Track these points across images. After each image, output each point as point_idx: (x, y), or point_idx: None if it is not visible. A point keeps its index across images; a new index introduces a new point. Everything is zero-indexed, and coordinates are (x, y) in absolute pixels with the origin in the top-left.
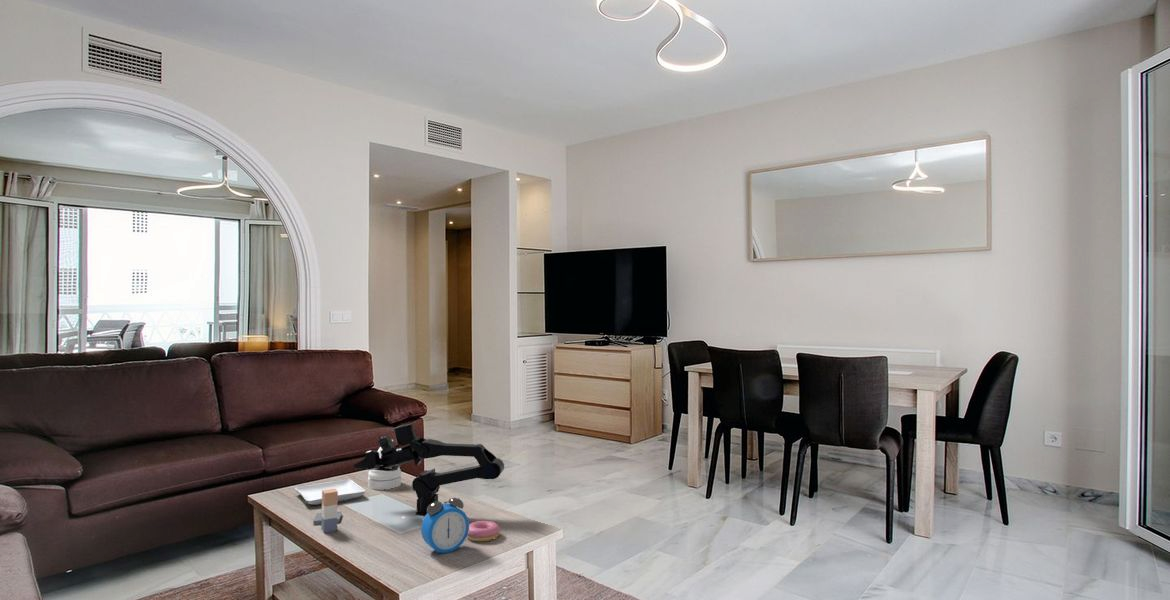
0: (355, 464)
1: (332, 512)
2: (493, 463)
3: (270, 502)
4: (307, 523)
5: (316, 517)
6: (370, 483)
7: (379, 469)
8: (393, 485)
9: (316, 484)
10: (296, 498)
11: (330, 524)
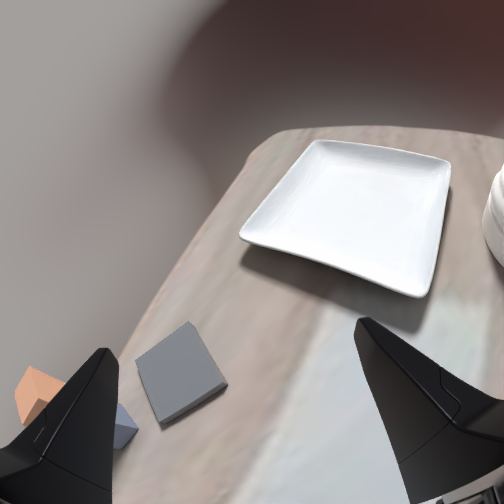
0: (91, 362)
1: None
2: None
3: (253, 167)
4: (147, 343)
5: (158, 347)
6: (487, 219)
7: (396, 448)
8: None
9: (362, 145)
10: None
11: None
